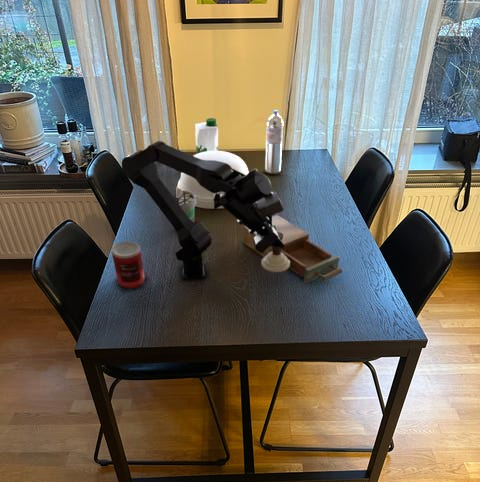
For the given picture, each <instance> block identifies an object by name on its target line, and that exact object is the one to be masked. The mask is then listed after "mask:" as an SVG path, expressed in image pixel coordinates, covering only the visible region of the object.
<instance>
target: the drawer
mask: <svg viewBox="0 0 480 482" xmlns="http://www.w3.org/2000/svg"><path fill="white" fill-rule="evenodd" d="M281 252H282V253H283V254H284V255H285V256H286V257H287V259H288V260H289V261H290V267H289V268H288V269H290V270H291V271H293V272H294V273H295V274H297V275H299V276H300V277H302V278H303V282H304V283H306V284H308V283H310V282H313V281H315V280H316V279H319V278H320V279H321V281H322V282H325V281H328V280H330V279H331V278H334V277H336V276H338V275H340V274H342V273H343V269H342V268H340V267H339V264H340V263H339V261H340V256H339V255H338V254H337V255H334V256H332V253H330V252H329V251H327V250H325V249H323V247H320V246H319V245H317V244H316V243H314V242H312V241H311V240H310V239H309V240H307V239H306V238H304V239H301V240H299V241H296V242H294V243H291V244H289V245H286V246H284V247H283V248H281Z"/></svg>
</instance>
